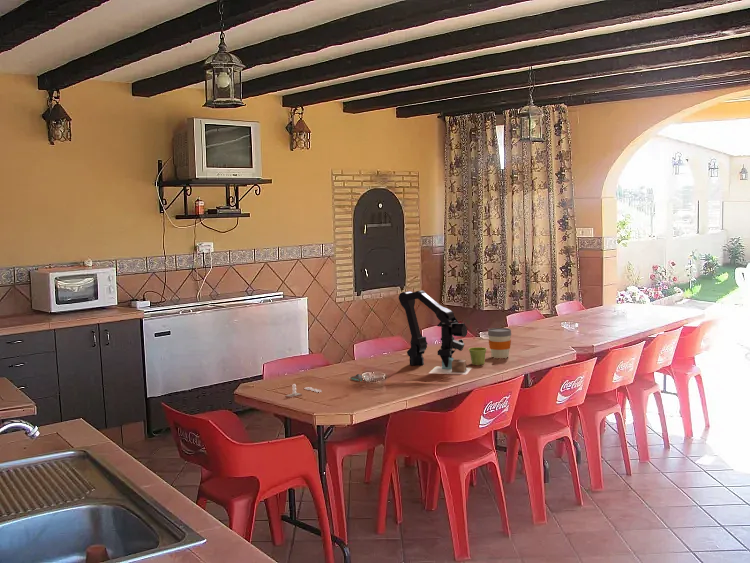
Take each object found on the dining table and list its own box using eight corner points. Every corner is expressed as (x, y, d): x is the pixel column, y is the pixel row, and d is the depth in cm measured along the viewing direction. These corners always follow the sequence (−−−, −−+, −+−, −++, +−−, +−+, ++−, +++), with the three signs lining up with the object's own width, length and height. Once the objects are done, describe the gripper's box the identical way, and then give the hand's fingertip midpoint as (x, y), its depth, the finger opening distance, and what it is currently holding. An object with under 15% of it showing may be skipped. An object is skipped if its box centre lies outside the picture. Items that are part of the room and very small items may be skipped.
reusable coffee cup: (496, 360, 405) (495, 332, 403) (484, 356, 416) (483, 329, 415) (516, 357, 409) (515, 330, 408) (503, 354, 421) (503, 327, 419)
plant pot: (477, 368, 387) (477, 351, 386) (465, 365, 394) (464, 349, 394) (491, 365, 392) (490, 348, 391) (478, 362, 400) (477, 346, 399)
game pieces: (293, 400, 337) (293, 387, 337) (276, 395, 347) (276, 382, 346) (369, 381, 367) (369, 370, 367) (352, 378, 377) (351, 366, 376)
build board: (428, 375, 375) (428, 373, 375) (435, 368, 390) (435, 366, 390) (466, 376, 369) (466, 374, 369) (472, 369, 384) (472, 367, 384)
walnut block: (451, 372, 375) (451, 361, 374) (454, 369, 381) (454, 359, 380) (464, 372, 373) (463, 362, 373) (466, 369, 379) (466, 359, 378)
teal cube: (442, 368, 383) (441, 359, 383) (444, 366, 388) (443, 357, 387) (451, 369, 382) (451, 359, 381) (453, 367, 386) (453, 357, 386)
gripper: (459, 339, 372) (460, 370, 373) (466, 332, 390) (467, 362, 391) (436, 338, 375) (437, 369, 377) (445, 332, 393) (445, 362, 394)
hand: (447, 366), depth 385 cm, fingers closed on teal cube, 5 cm apart
